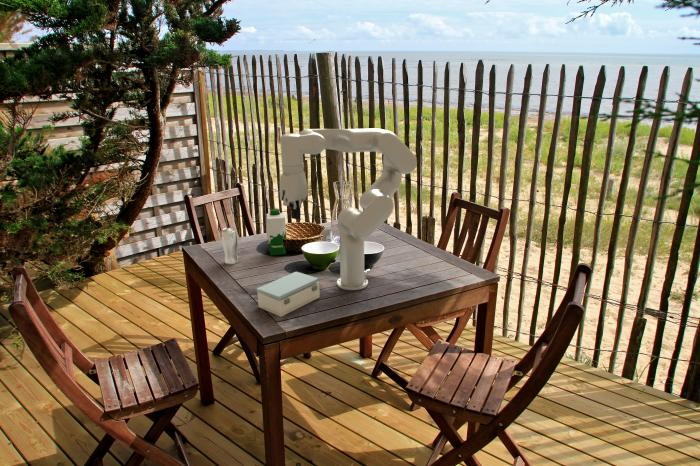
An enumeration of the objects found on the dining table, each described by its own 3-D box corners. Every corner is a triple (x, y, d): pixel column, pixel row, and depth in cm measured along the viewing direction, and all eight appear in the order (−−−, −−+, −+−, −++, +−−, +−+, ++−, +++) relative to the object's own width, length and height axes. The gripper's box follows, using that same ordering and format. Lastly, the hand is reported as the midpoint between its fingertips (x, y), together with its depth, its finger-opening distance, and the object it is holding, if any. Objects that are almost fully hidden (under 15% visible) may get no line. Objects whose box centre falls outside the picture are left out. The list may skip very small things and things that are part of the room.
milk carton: (286, 248, 250) (284, 207, 244) (287, 255, 242) (285, 213, 235) (267, 249, 248) (264, 209, 242) (268, 256, 240) (265, 214, 234)
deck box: (297, 288, 207) (296, 274, 205) (321, 297, 199) (320, 283, 197) (258, 306, 193) (257, 291, 191) (282, 317, 185) (281, 302, 183)
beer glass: (237, 264, 231) (235, 232, 226) (222, 264, 231) (219, 232, 226) (241, 259, 238) (238, 227, 233) (225, 259, 238) (223, 227, 233)
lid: (296, 274, 205) (296, 271, 205) (318, 281, 198) (318, 278, 198) (256, 291, 191) (256, 288, 191) (279, 299, 184) (278, 296, 183)
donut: (340, 246, 252) (340, 226, 249) (340, 248, 249) (340, 228, 245) (319, 246, 252) (319, 226, 249) (319, 249, 249) (318, 229, 245)
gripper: (300, 164, 194) (302, 211, 200) (270, 171, 183) (273, 221, 189) (315, 166, 189) (317, 215, 195) (284, 174, 178) (288, 225, 185)
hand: (295, 218), depth 192 cm, fingers closed
